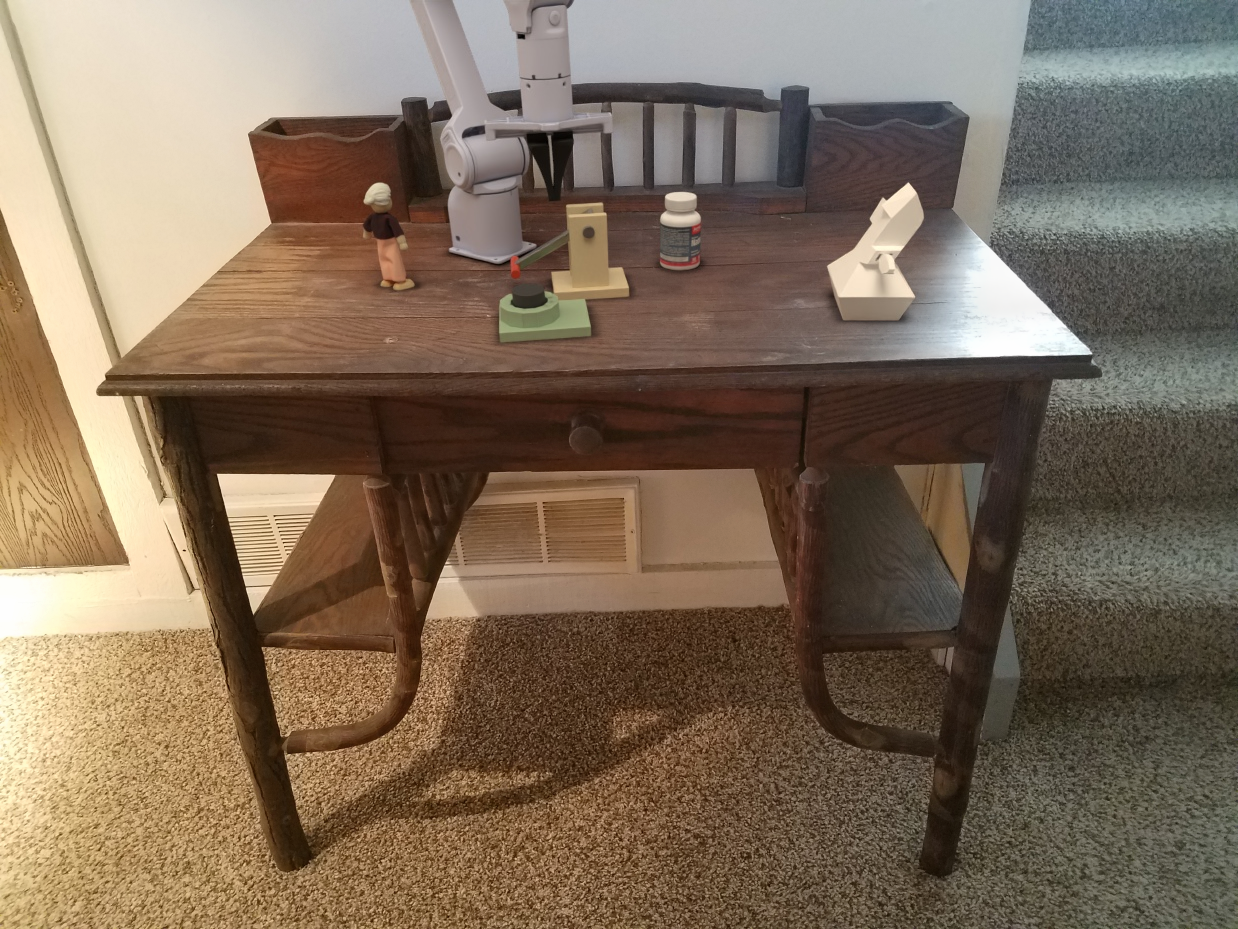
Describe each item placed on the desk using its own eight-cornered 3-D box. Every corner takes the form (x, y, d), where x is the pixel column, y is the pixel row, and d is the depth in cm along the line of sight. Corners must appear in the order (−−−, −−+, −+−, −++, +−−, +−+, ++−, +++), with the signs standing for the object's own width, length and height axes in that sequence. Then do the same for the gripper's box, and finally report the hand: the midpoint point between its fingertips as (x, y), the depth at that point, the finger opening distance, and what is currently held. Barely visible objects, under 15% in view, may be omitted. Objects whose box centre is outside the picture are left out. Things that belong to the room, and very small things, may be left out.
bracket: (554, 301, 104) (549, 221, 99) (551, 280, 110) (546, 203, 105) (629, 296, 105) (627, 216, 100) (622, 276, 111) (620, 198, 105)
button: (513, 311, 95) (512, 296, 94) (513, 299, 98) (511, 284, 97) (546, 309, 96) (545, 294, 95) (544, 296, 99) (543, 282, 98)
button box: (500, 343, 95) (497, 317, 93) (500, 313, 102) (497, 289, 100) (591, 336, 96) (590, 311, 94) (585, 308, 102) (584, 283, 101)
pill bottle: (697, 272, 111) (698, 203, 106) (656, 270, 112) (656, 201, 107) (702, 258, 115) (704, 190, 111) (663, 256, 116) (663, 189, 111)
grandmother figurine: (428, 283, 110) (412, 181, 103) (410, 293, 107) (393, 190, 100) (379, 275, 113) (361, 176, 106) (360, 285, 110) (340, 184, 103)
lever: (517, 285, 103) (506, 268, 102) (516, 270, 108) (506, 254, 106) (604, 234, 101) (593, 216, 100) (599, 220, 106) (590, 203, 104)
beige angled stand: (838, 334, 95) (853, 208, 87) (821, 285, 106) (834, 171, 99) (917, 334, 94) (939, 207, 86) (892, 285, 106) (909, 170, 98)
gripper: (478, 85, 93) (493, 212, 100) (613, 77, 94) (618, 203, 101) (480, 75, 99) (493, 195, 106) (607, 68, 100) (611, 188, 107)
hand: (554, 198), depth 104 cm, fingers closed
